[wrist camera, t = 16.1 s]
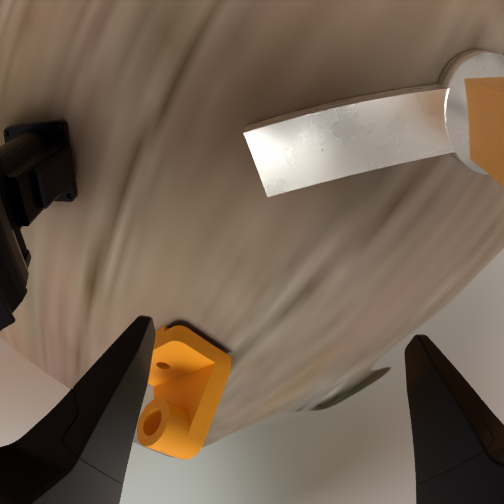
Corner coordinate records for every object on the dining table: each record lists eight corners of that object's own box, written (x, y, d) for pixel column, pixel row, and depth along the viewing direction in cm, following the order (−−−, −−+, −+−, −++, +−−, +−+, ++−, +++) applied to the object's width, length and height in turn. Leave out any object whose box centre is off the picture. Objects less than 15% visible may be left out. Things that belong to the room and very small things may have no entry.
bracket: (181, 316, 29) (157, 432, 20) (231, 350, 33) (223, 455, 23) (125, 348, 34) (99, 438, 24) (170, 375, 37) (155, 461, 28)
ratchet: (277, 213, 22) (280, 257, 18) (232, 92, 17) (222, 108, 13) (520, 156, 17) (556, 184, 13) (516, 50, 12) (559, 63, 8)
